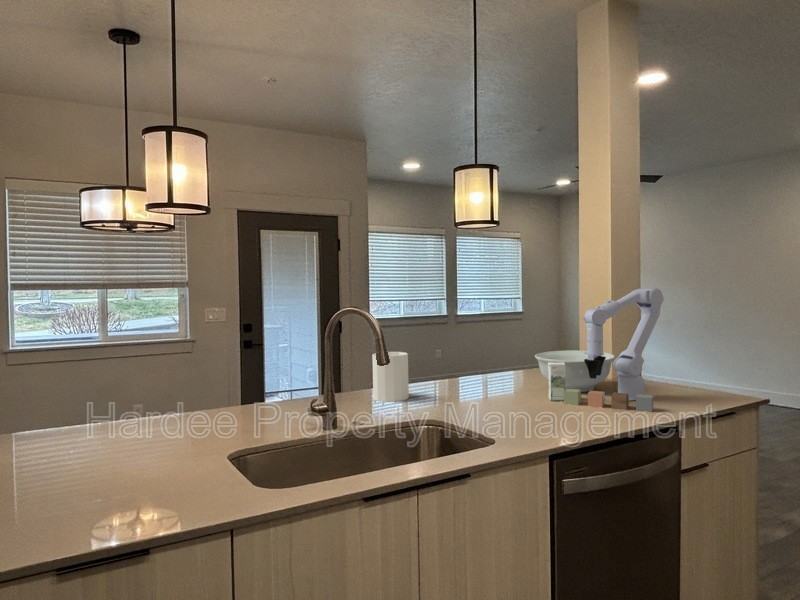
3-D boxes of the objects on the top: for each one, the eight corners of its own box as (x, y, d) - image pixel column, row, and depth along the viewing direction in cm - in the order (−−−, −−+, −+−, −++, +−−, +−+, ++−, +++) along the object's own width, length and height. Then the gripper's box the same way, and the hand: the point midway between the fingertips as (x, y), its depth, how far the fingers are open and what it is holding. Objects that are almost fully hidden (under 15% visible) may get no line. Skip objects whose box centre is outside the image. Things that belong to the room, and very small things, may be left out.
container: (393, 403, 218) (392, 357, 217) (365, 399, 226) (364, 354, 226) (415, 396, 229) (414, 352, 229) (387, 393, 238) (386, 350, 237)
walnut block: (614, 406, 205) (613, 392, 205) (628, 407, 203) (628, 393, 203) (611, 408, 201) (611, 394, 201) (626, 410, 198) (626, 396, 198)
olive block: (567, 401, 214) (567, 388, 214) (581, 402, 211) (580, 389, 211) (564, 404, 210) (564, 391, 210) (577, 405, 207) (577, 392, 207)
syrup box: (563, 398, 220) (562, 361, 220) (566, 401, 214) (565, 363, 214) (548, 398, 221) (547, 361, 220) (550, 401, 215) (550, 363, 214)
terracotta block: (590, 403, 209) (590, 390, 209) (604, 405, 207) (604, 391, 207) (587, 406, 205) (587, 393, 205) (602, 407, 203) (601, 394, 202)
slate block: (638, 408, 201) (638, 394, 201) (653, 409, 199) (653, 395, 198) (636, 411, 197) (635, 396, 197) (651, 412, 194) (651, 398, 194)
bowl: (544, 397, 223) (544, 360, 222) (528, 382, 255) (528, 350, 254) (626, 396, 221) (626, 359, 221) (600, 381, 254) (600, 349, 253)
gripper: (588, 338, 220) (588, 373, 221) (579, 342, 208) (579, 379, 208) (607, 339, 217) (607, 374, 217) (599, 343, 204) (599, 380, 205)
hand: (595, 376), depth 212 cm, fingers open, 7 cm apart
